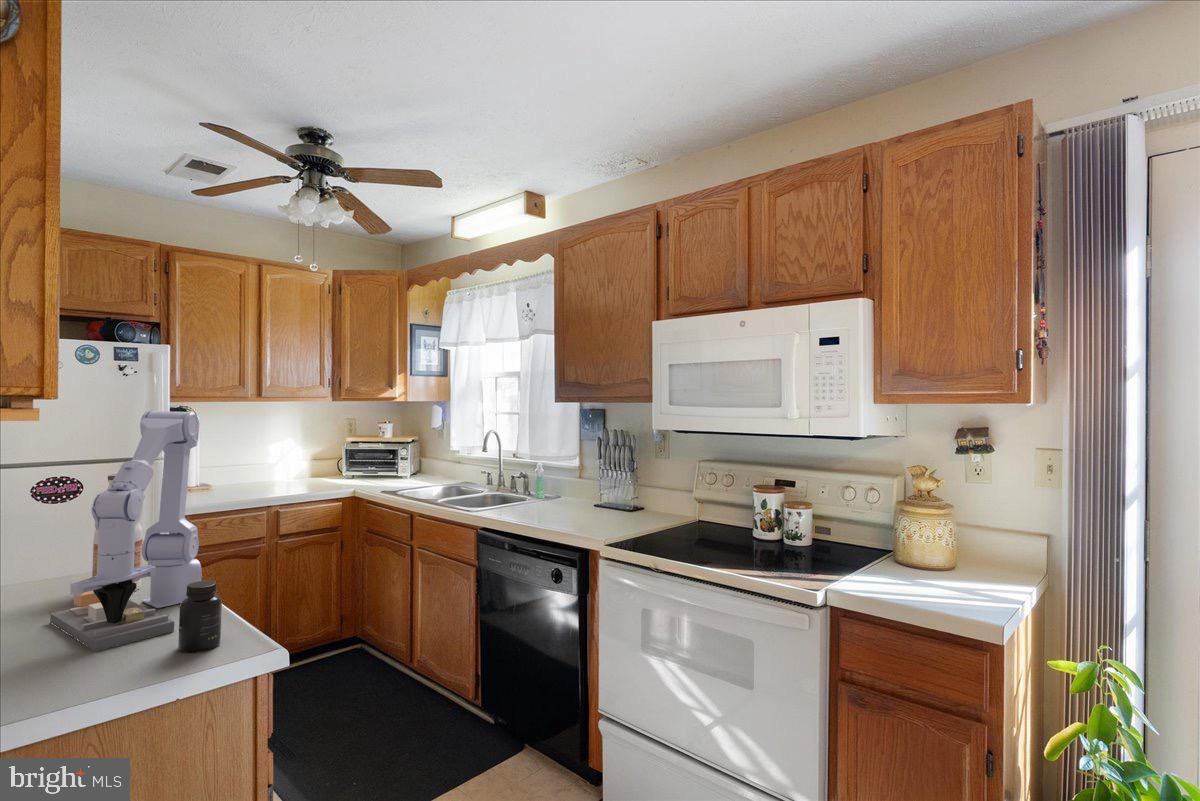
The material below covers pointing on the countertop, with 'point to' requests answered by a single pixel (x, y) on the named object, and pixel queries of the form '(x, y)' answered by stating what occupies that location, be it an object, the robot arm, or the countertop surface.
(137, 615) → the wood grain block
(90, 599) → the orange button
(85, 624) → the grey ridged tray
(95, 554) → the fruit juice
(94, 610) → the off-white button
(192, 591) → the supplement bottle
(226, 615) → the countertop surface
